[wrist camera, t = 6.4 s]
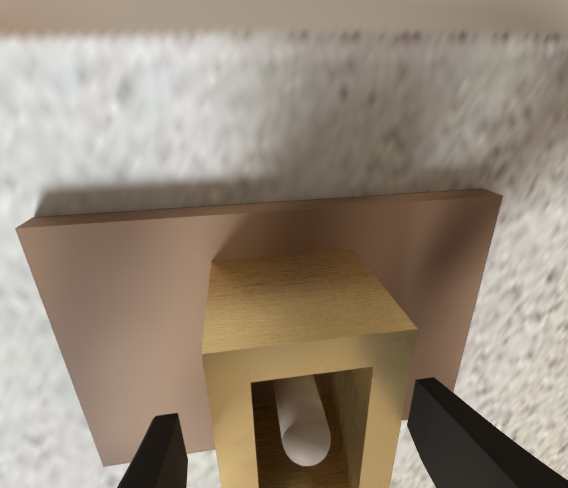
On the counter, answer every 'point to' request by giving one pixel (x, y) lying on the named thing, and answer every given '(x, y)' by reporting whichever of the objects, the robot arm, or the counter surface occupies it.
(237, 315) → the link
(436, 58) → the counter surface
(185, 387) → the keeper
